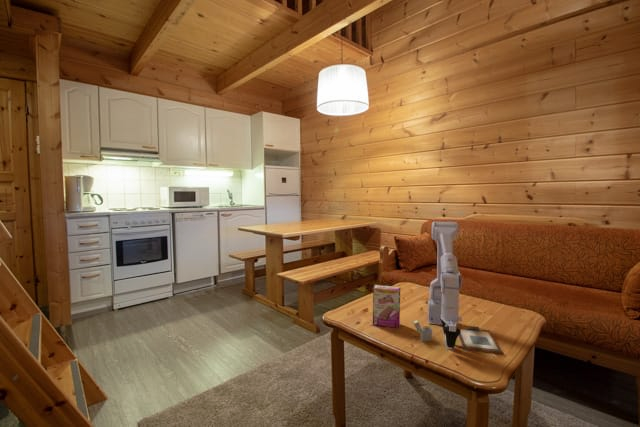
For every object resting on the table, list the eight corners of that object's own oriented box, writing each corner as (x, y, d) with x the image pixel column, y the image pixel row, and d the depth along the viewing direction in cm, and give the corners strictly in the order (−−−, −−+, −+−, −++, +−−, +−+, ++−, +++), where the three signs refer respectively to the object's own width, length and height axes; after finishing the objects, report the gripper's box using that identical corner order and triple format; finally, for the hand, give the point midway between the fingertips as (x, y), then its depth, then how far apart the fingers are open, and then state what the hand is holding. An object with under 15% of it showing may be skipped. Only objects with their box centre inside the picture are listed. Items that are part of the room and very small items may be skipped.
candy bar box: (372, 325, 126) (372, 288, 125) (373, 320, 131) (373, 284, 130) (399, 328, 123) (400, 290, 122) (399, 323, 128) (400, 286, 127)
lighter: (429, 338, 115) (430, 318, 115) (432, 340, 114) (432, 320, 113) (412, 340, 114) (412, 319, 113) (414, 342, 112) (415, 321, 112)
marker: (445, 349, 108) (445, 326, 107) (443, 344, 110) (444, 322, 110) (454, 350, 107) (454, 327, 106) (452, 345, 110) (453, 323, 109)
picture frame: (463, 349, 107) (464, 343, 107) (456, 329, 123) (456, 324, 122) (501, 353, 104) (501, 348, 104) (488, 332, 119) (488, 327, 119)
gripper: (466, 314, 99) (465, 353, 100) (458, 299, 113) (457, 333, 114) (443, 312, 101) (442, 350, 102) (438, 297, 115) (437, 331, 116)
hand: (449, 341), depth 108 cm, fingers open, 7 cm apart
